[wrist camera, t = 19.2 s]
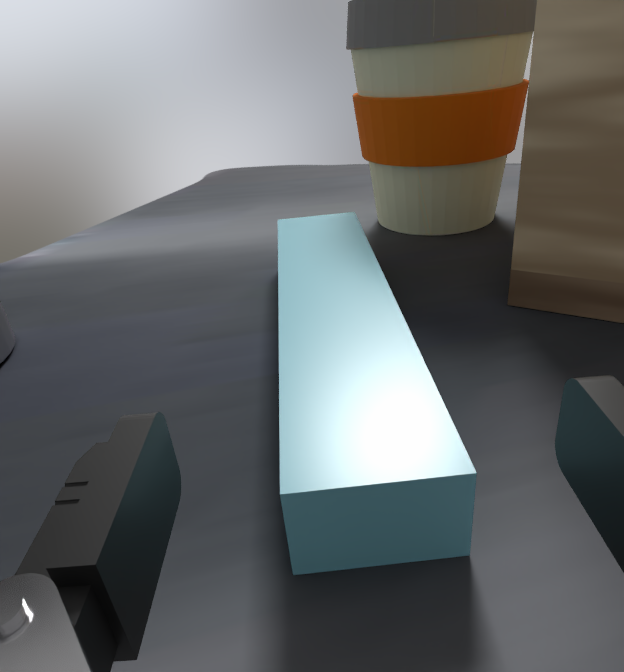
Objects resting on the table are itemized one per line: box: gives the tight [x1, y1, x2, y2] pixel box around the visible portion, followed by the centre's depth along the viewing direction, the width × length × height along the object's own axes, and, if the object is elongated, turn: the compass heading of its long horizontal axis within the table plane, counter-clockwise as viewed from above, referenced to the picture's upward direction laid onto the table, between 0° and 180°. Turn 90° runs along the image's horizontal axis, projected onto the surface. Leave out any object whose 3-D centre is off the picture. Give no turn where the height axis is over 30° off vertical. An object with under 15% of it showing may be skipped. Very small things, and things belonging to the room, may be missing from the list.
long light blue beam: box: [278, 212, 477, 575], centre depth 25 cm, size 22×5×15 cm
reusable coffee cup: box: [346, 0, 537, 235], centre depth 38 cm, size 12×13×15 cm
